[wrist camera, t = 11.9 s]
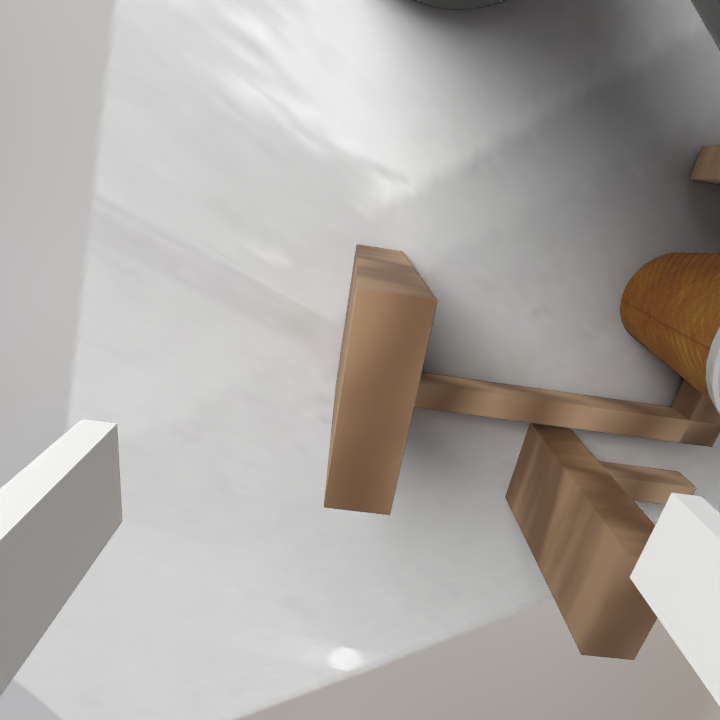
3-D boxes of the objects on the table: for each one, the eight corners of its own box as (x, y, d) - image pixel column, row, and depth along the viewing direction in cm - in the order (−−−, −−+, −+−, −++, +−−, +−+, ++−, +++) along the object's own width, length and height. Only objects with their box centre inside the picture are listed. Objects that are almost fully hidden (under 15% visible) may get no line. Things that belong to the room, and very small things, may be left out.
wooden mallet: (505, 497, 36) (581, 654, 24) (530, 422, 34) (629, 555, 21) (656, 515, 37) (803, 676, 25) (692, 443, 34) (875, 584, 22)
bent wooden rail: (335, 385, 32) (323, 507, 20) (379, 88, 25) (401, -1, 13) (692, 433, 34) (880, 572, 22) (821, 168, 27) (1202, 154, 15)
